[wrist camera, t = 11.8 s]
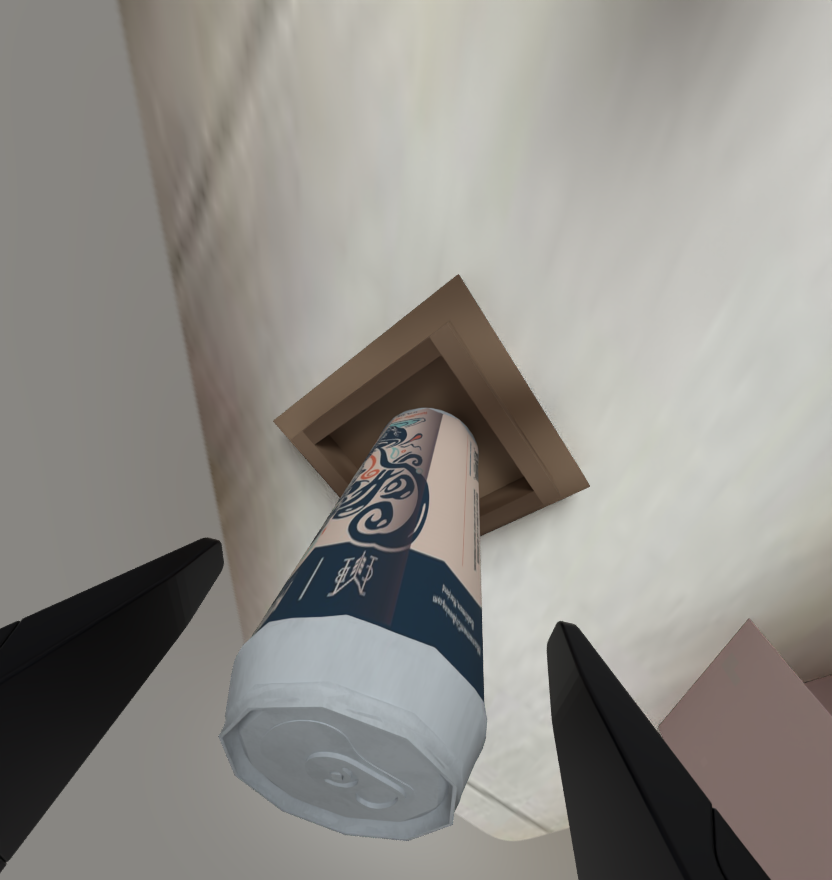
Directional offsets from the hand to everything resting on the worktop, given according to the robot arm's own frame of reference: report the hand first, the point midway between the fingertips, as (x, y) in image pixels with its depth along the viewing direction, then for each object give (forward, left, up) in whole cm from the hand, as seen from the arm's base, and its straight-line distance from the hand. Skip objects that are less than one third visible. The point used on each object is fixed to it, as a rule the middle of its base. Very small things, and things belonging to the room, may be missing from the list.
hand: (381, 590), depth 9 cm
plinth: (0, 0, -10) cm, 10 cm away
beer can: (0, 0, -8) cm, 8 cm away
